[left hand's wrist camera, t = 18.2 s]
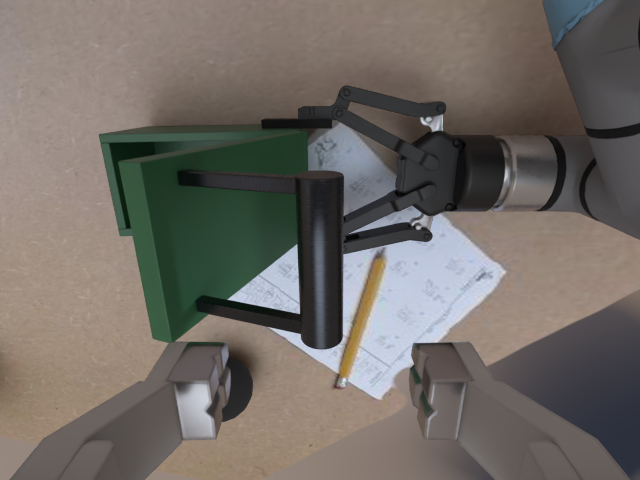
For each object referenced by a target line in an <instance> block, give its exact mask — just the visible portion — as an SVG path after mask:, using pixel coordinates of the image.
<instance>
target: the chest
mask: <svg viewBox="0 0 640 480" xmlns="http://www.w3.org/2000/svg"><path fill="white" fill-rule="evenodd" d="M291 131H301V128H262V124H256V125H204V126H151V127H141V128H135V129H129V130H123V131H117V132H110V133H104V134H99V138H100V142H101V148H102V152H103V157H104V162H105V167H106V172H107V176H108V181H109V186H110V191H111V195H112V200H113V205H114V210H115V215H116V219H117V224H118V229H119V234H120V236H133V235H132V230H131V225H130V220H129V215H128V209H127V204H126V199H125V194H124V189H123V184H122V179H121V174H120V169H119V164H118V162H119V161H123V160H129V159H134V158H140V157H146V156H152V155H157V154H163V153H169V152H175V151H181V150H186V149H192V148H198V147H204V146H210V145H215V144H221V143H227V142H233V141H238V140H244V139H250V138H256V137H262V136H267V135H273V134H279V133H285V132H291Z"/></svg>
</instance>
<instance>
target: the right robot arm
mask: <svg viewBox="0 0 640 480" xmlns="http://www.w3.org/2000/svg"><path fill="white" fill-rule="evenodd" d="M543 6H544V10H545V14H546V17H547V21H548V25H549V28H550V32H551V36H552V40H553V42H552V46H553V49H554V51H556V52H557V54H558V57H559V60H560V62H561V65H562V68H563V70H564V73H565V76H566V79H567V81H568V84H569V87H570V89H571V92H572V95H573V97H574V100H575V103H576V105H577V108H578V111H579V113H580V116H581V119H582V121H583V124H584V127H585V130H586V133H587V135H577V136H544V135H500V136H498V137H496V138H495V137H494V136H492V135H449V134H447V133H446V132H444V131H442V115H443V114H444V113H445V111H446V105H445V103H443V102H426V103H415V102H411V101H407V100H403V99H399V98H395V97H391V96H387V95H383V94H380V93H376V92H372V91H368V90H364V89H360V88H356V87H352V86H343V87H342V88H341V89H340V91H339V94H338V97H337V100H336V102H335V103H334V104H333V105H332V106H304V107H301V108H299V109H298V119H263V120H261V122H262V128H332V120H338V121H340V122H341V123H343V124H345V125H347V126H349V127H351V128H353V129H355V130H356V131H358V132H360V133H362V134H364V135H366V136H368V137H370V138H371V139H373V140H375V141H377V142H379V143H381V144H383V145H384V146H386V147H388V148H390V149H392V150H394V151H396V152H397V153H399V154H400V155H399V157H397V168H398V175H397V178H396V185H395V187H396V188H397V189H396V190H394V191H392V192H390V193H388V194H387V195H386V196H384V197H382V198H380V199H378V200H376V201H374V202H372V203H370V204H368V205H366V206H364V207H361V208H359V209H357V210H355V211H353V212H351V213H349V214H347V215H345V216H343V254H347V253H352V252H356V251H361V250H366V249H370V248H375V247H380V246H384V245H389V244H393V243H398V242H403V241H407V240H414V241H422V242H428V241H430V240H431V239H432V233H431V232H430V228H431V224H432V219H433V216H435V215H437V214H439V213H442V212H446V211H451V212H484V211H488V210H489V209H491V210H492V211H496V212H510V211H567V212H577V213H581V214H583V215H585V216H588V217H590V218H592V219H594V220H597V221H599V222H602V223H604V224H606V225H608V226H611V227H613V228H615V229H617V230H619V231H622V232H624V233H626V234H628V235H630V236H632V237H635V238H637V239H639V240H640V0H543ZM350 101H351V102H355V103H359V104H363V105H367V106H371V107H375V108H379V109H383V110H387V111H391V112H395V113H399V114H403V115H408V116H413V117H418V121H419V123H420V124H422V125H426V126H428V127H429V130H430V131H429V132H428V133H426V134H425V135H424V136H422V137H421V138H419V139H418V140H417V141H415V142H414V143H412V144H409V143H407V142H405V141H403V140H402V139H400V138H398V137H396V136H394V135H392V134H390V133H389V132H387V131H385V130H383V129H381V128H379V127H377V126H376V125H374V124H372V123H370V122H368V121H366V120H365V119H363V118H361V117H359V116H357V115H355V114H353V113H352V112H350V111H348V110H347V109H348V106H349V103H350ZM411 205H412V206H414V207H415V208H416V209H418V210H419V211H420V212H422V213H421V215H420V216H419V217H417V218H412V219H411V220H410V222H404V223H397V224H393V225H388V226H384V227H379V228H375V229H370V230H365V231H361V232H356V233H352V234H349V233H351V232H353V231H355V230H357V229H359V228H361V227H363V226H365V225H368V224H370V223H372V222H374V221H376V220H378V219H380V218H382V217H384V216H387V215H389V214H391V213H393V212H396V211H401V210H403V209H405V208H407V207H409V206H411ZM346 234H347V235H346Z"/></svg>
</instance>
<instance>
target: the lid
mask: <svg viewBox="0 0 640 480" xmlns="http://www.w3.org/2000/svg"><path fill="white" fill-rule="evenodd" d="M118 164H119V169H120V174H121V179H122V184H123V189H124V194H125V199H126V204H127V209H128V215H129V220H130V225H131V230H132V235H133V240H134V245H135V250H136V255H137V260H138V265H139V271H140V276H141V281H142V286H143V291H144V296H145V301H146V306H147V311H148V316H149V321H150V327H151V332H152V337H153V339H156V340H160V341H163V342H167V343H171V342H174V341H176V340H177V339H178V338H180V337H181V336H182V335H183V334H185V333H186V332H187V331H188V330H190V329H191V328H192V327H193V326H195V325H196V324H197V323H198V322H200V321H201V320H202V319H203V318H205V317H206V316H207V315H208V314H211V315H216V316H220V317H225V318H230V319H234V320H239V321H243V322H248V323H253V324H257V325H262V326H266V327H271V328H276V329H280V330H285V331H289V332H294V333H299V334H301V339H302V341H303V343H304V344H305V345H307V346H308V347H311V348H314V349H329V348H333V347H335V346H337V345H338V344H339V343H340V342H341V341H342V338H343V209H344V176H343V174H342V173H339V172H335V171H308V148H307V131H291V132H285V133H279V134H273V135H267V136H262V137H256V138H250V139H244V140H238V141H233V142H227V143H221V144H215V145H210V146H204V147H198V148H192V149H186V150H181V151H175V152H169V153H163V154H157V155H152V156H146V157H140V158H134V159H129V160H123V161H119V162H118ZM296 244H297V245H298V271H299V297H300V314H297V313H292V312H286V311H281V310H276V309H271V308H266V307H261V306H256V305H251V304H246V303H241V302H236V301H231V300H227V299H228V298H230V297H231V296H232V295H234V294H235V293H236V292H237V291H239V290H240V289H241V288H242V287H244V286H245V285H246V284H247V283H249V282H250V281H251V280H252V279H254V278H255V277H256V276H257V275H259V274H260V273H261V272H262V271H264V270H265V269H266V268H267V267H269V266H270V265H271V264H272V263H274V262H275V261H276V260H277V259H279V258H280V257H281V256H282V255H284V254H285V253H286V252H288V251H289V250H290V249H291V248H293V247H294V246H295V245H296Z"/></svg>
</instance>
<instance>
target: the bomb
mask: <svg viewBox="0 0 640 480" xmlns="http://www.w3.org/2000/svg"><path fill="white" fill-rule="evenodd" d="M226 365H227V366H228V367H229V368H230V373H231V387H230V394H229V399H228V402H227V405H226V406H225V407H224V408H223V409H222V416H223V419H222V422H225V421H228V420H230V419H233V418H235V417H236V416H238V415H239V414H240V413H241V412H242V411H244V410H245V408H246V407H247V405H248V403H249V401H250V399H251V396H252V389H253V381H252V377H251V375H250V372H249V370H248V369H247V368H246V367H245V365H244V364H243V363H241V362H240V361H238V360H236V359H233V358H229V357H228V359H227V362H226Z"/></svg>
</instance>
